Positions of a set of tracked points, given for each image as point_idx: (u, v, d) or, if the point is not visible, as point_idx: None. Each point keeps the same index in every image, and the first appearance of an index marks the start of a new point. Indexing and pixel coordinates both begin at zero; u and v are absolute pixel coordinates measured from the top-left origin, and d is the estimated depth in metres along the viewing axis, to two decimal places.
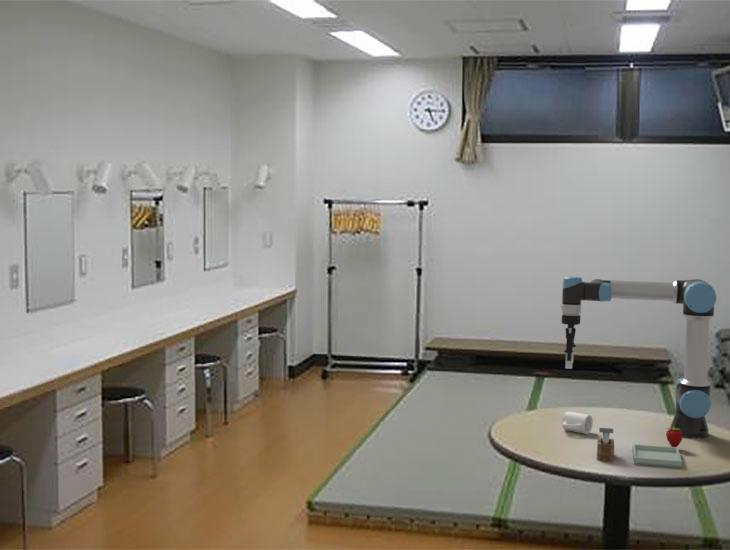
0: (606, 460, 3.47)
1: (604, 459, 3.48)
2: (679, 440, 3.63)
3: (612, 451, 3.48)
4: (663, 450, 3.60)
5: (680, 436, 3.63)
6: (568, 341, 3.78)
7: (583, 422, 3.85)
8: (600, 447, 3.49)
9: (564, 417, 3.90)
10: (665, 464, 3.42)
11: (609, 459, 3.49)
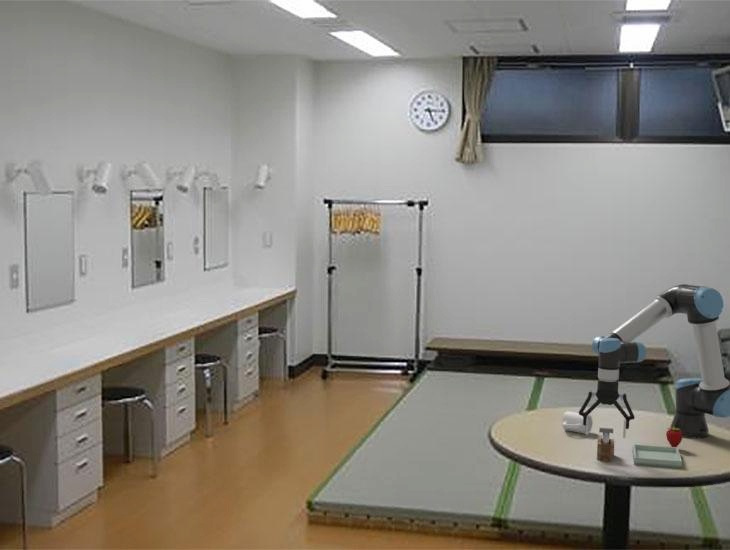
0: (606, 460, 3.47)
1: (604, 459, 3.48)
2: (679, 440, 3.63)
3: (612, 451, 3.48)
4: (663, 450, 3.60)
5: (680, 436, 3.63)
6: None
7: None
8: (600, 447, 3.49)
9: (564, 417, 3.90)
10: (665, 464, 3.42)
11: (609, 459, 3.49)
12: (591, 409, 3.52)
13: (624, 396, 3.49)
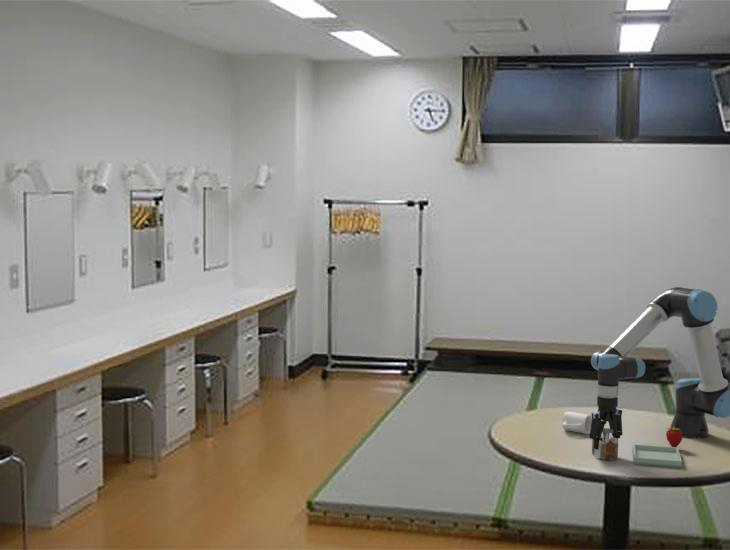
0: (613, 459, 3.48)
1: (611, 458, 3.48)
2: (679, 440, 3.63)
3: (616, 449, 3.50)
4: (663, 450, 3.60)
5: (680, 436, 3.63)
6: (592, 428, 3.49)
7: (583, 422, 3.85)
8: (605, 447, 3.49)
9: (564, 417, 3.90)
10: (665, 464, 3.42)
11: None
12: (601, 430, 3.50)
13: (620, 412, 3.54)
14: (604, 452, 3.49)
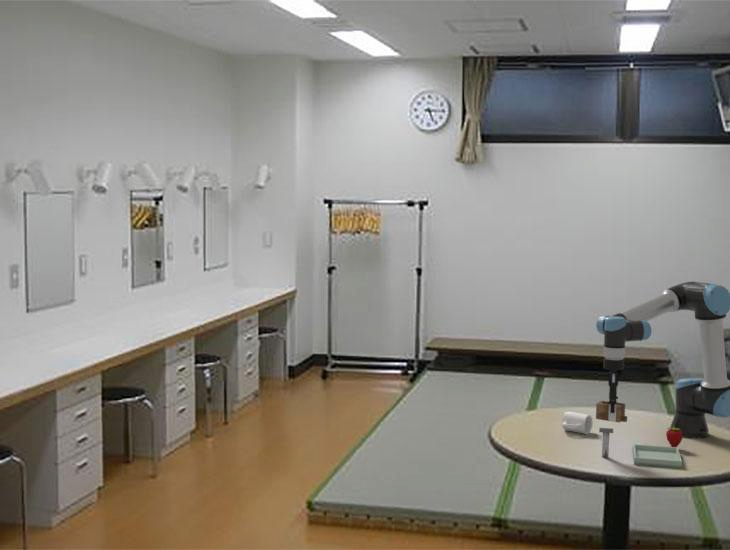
0: (626, 420, 3.50)
1: (626, 419, 3.49)
2: (679, 440, 3.63)
3: (624, 410, 3.52)
4: (663, 450, 3.60)
5: (680, 436, 3.63)
6: (611, 392, 3.45)
7: (583, 422, 3.85)
8: (621, 409, 3.48)
9: (564, 417, 3.90)
10: (665, 464, 3.42)
11: None
12: None
13: None
14: (620, 414, 3.48)
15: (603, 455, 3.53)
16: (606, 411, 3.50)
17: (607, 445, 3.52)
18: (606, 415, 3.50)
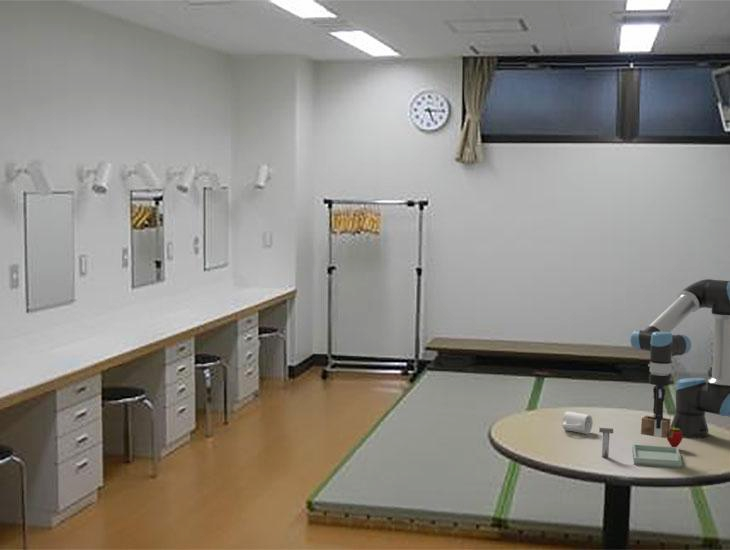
0: (672, 435, 3.48)
1: (671, 435, 3.48)
2: (679, 440, 3.63)
3: (669, 425, 3.51)
4: (663, 450, 3.60)
5: (680, 436, 3.63)
6: (658, 407, 3.43)
7: (583, 422, 3.85)
8: (666, 424, 3.47)
9: (564, 417, 3.90)
10: (665, 464, 3.42)
11: None
12: None
13: None
14: (666, 430, 3.47)
15: (603, 455, 3.53)
16: (651, 426, 3.49)
17: (607, 445, 3.52)
18: (651, 430, 3.49)
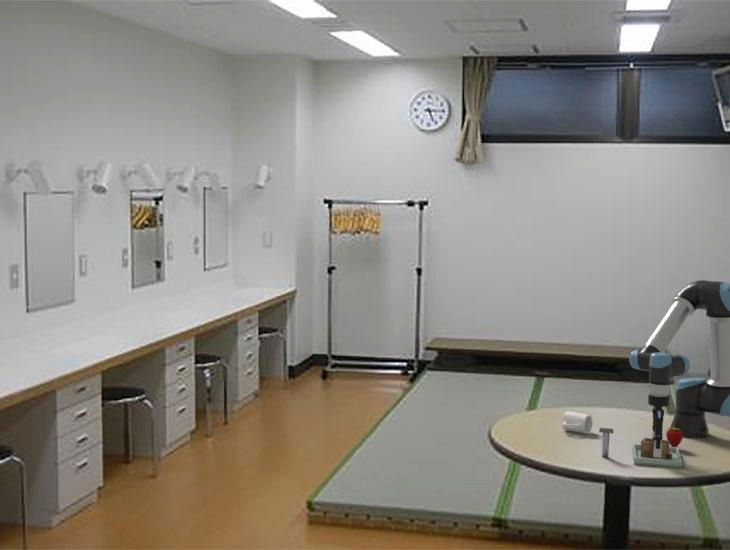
0: (671, 457, 3.49)
1: (671, 457, 3.49)
2: (679, 440, 3.63)
3: (668, 447, 3.52)
4: None
5: (680, 436, 3.63)
6: (657, 427, 3.43)
7: (583, 422, 3.85)
8: (666, 447, 3.48)
9: (564, 417, 3.90)
10: (665, 464, 3.42)
11: None
12: None
13: None
14: (665, 452, 3.48)
15: (603, 455, 3.53)
16: (651, 449, 3.50)
17: (607, 445, 3.52)
18: (651, 453, 3.50)
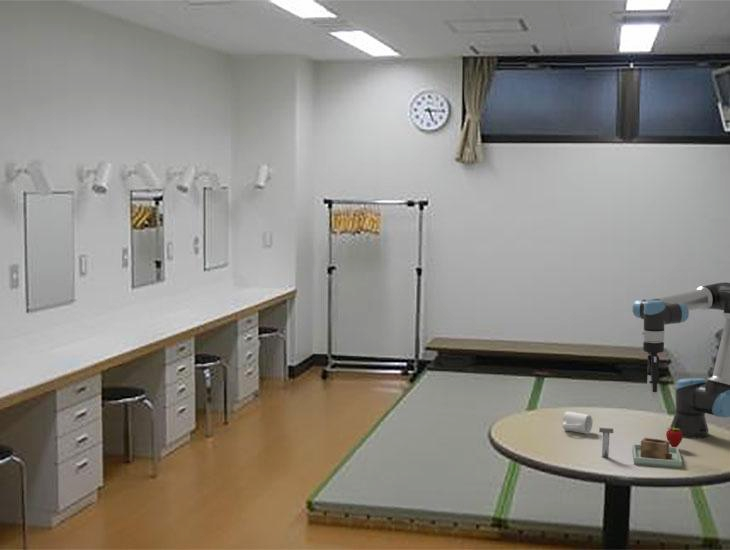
0: (671, 457, 3.49)
1: (671, 457, 3.49)
2: (679, 440, 3.63)
3: (668, 447, 3.52)
4: None
5: (680, 436, 3.63)
6: (654, 371, 3.50)
7: (583, 422, 3.85)
8: (666, 447, 3.48)
9: (564, 417, 3.90)
10: (665, 464, 3.42)
11: None
12: None
13: None
14: (665, 452, 3.48)
15: (603, 455, 3.53)
16: (651, 449, 3.50)
17: (607, 445, 3.52)
18: (651, 453, 3.50)
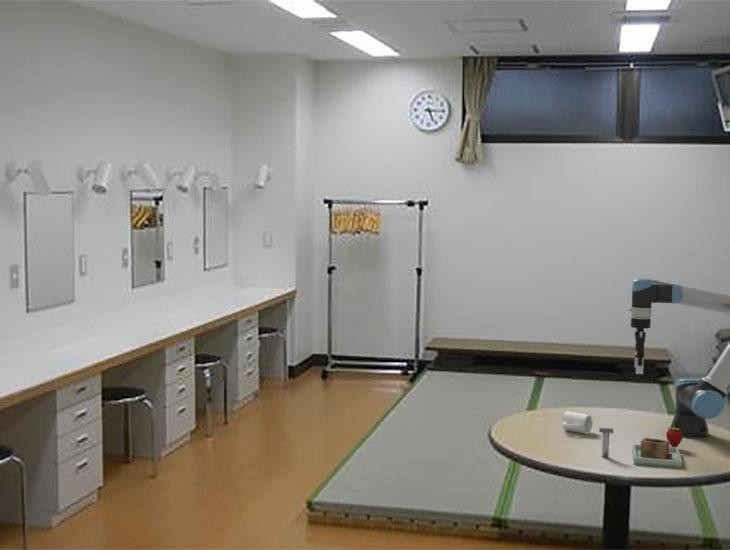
0: (671, 457, 3.49)
1: (671, 457, 3.49)
2: (679, 440, 3.63)
3: (668, 447, 3.52)
4: None
5: (680, 436, 3.63)
6: (639, 345, 3.65)
7: (583, 422, 3.85)
8: (666, 447, 3.48)
9: (564, 417, 3.90)
10: (665, 464, 3.42)
11: None
12: None
13: None
14: (665, 452, 3.48)
15: (603, 455, 3.53)
16: (651, 449, 3.50)
17: (607, 445, 3.52)
18: (651, 453, 3.50)
